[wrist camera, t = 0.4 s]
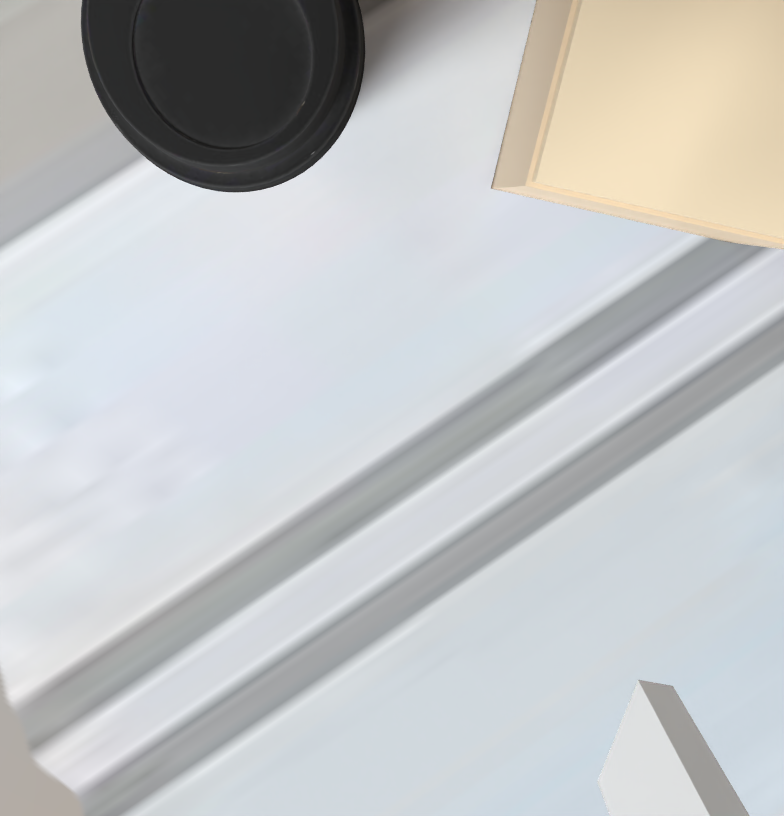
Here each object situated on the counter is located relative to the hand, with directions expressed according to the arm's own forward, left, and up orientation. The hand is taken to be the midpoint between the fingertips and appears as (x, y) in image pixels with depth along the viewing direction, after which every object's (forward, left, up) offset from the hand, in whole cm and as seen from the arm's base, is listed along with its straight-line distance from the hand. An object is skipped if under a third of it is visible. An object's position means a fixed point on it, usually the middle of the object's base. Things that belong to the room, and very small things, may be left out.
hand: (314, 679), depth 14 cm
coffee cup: (-13, -7, -28) cm, 31 cm away
